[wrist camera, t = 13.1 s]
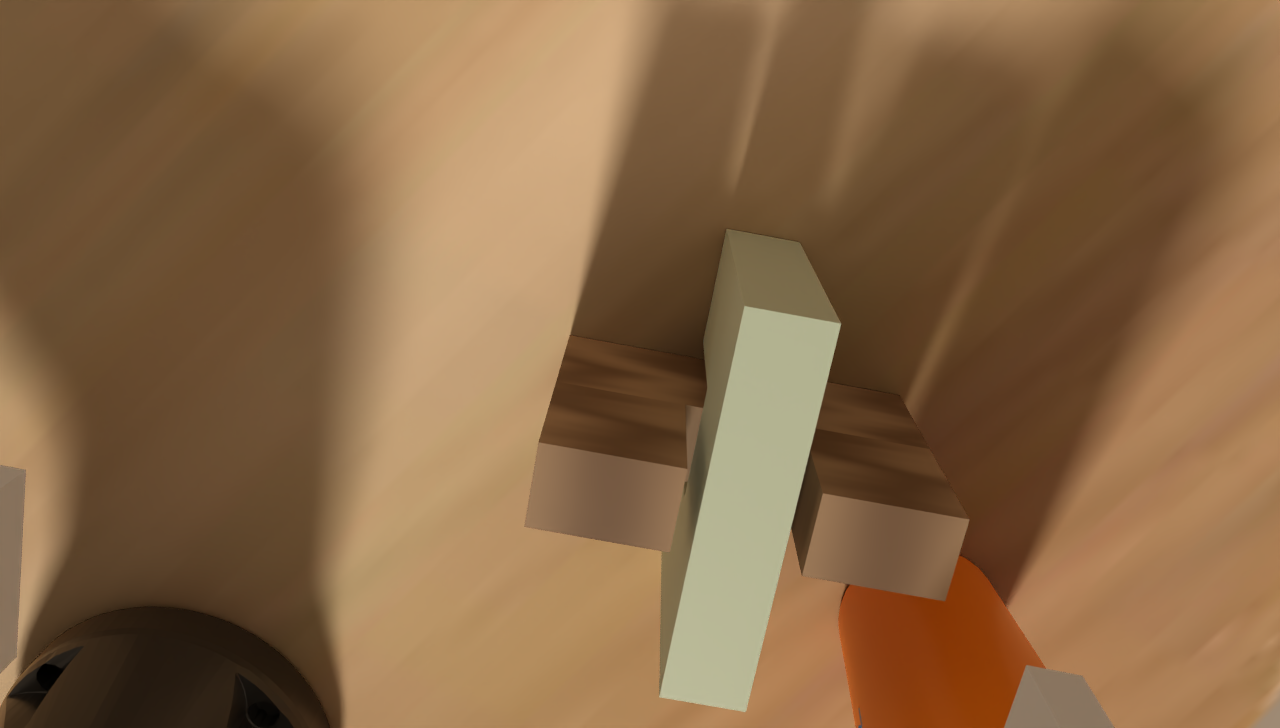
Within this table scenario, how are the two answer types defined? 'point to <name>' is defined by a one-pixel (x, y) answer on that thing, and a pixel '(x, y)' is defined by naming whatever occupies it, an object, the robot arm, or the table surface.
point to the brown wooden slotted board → (662, 455)
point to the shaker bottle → (933, 655)
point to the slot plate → (744, 467)
